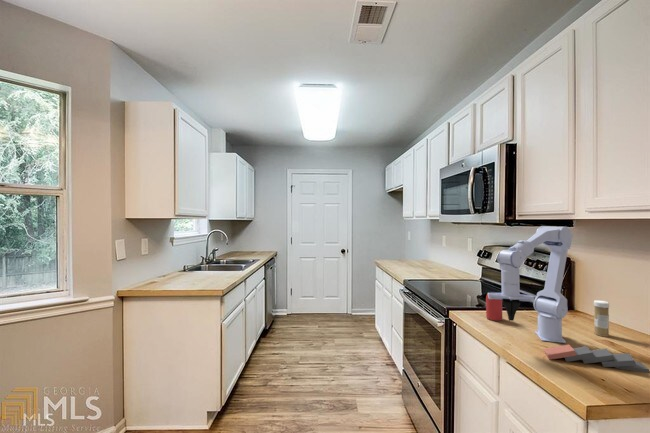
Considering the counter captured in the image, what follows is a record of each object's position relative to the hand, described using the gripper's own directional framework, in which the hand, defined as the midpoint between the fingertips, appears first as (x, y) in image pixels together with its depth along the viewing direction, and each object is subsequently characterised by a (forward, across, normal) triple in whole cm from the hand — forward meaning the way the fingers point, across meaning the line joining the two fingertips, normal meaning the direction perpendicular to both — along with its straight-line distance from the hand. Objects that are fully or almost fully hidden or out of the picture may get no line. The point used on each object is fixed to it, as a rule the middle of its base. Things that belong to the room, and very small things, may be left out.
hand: (510, 319), depth 114 cm
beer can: (+11, -1, +32) cm, 34 cm away
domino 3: (+10, +25, -5) cm, 27 cm away
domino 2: (+10, +20, -4) cm, 22 cm away
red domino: (+10, +10, -4) cm, 14 cm away
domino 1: (+10, +14, -4) cm, 18 cm away
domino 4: (+10, +28, -4) cm, 30 cm away
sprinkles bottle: (+11, +36, +24) cm, 45 cm away
